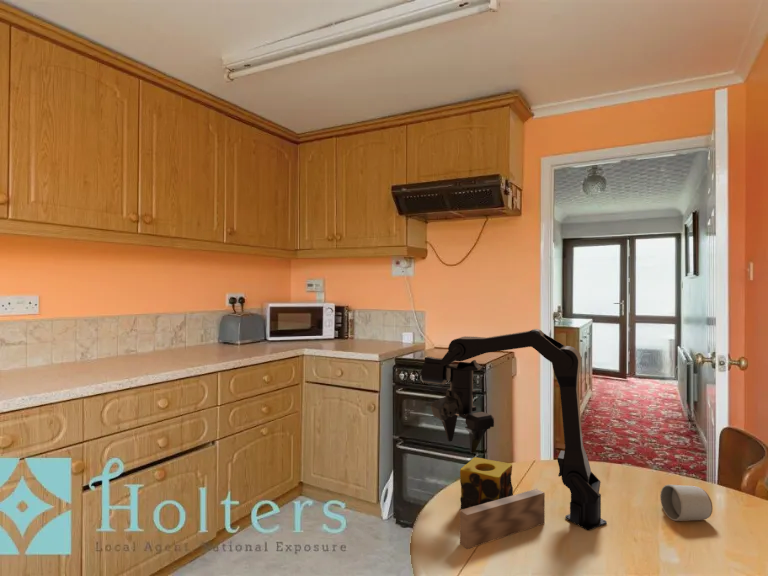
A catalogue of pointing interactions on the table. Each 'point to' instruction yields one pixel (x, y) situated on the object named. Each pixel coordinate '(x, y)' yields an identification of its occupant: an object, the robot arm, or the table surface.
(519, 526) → the brown wooden board
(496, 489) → the spotted yellow cube
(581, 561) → the table surface
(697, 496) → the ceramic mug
